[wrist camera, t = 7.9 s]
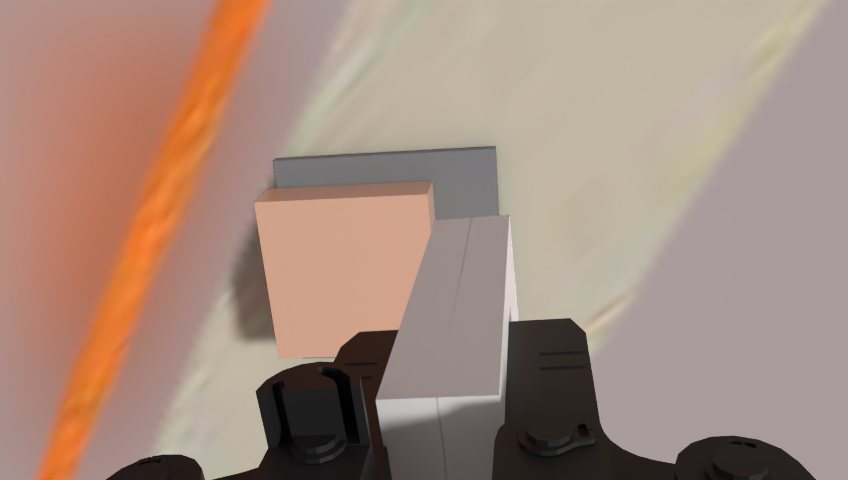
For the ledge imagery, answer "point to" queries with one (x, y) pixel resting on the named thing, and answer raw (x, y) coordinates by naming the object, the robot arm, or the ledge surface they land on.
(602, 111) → the ledge surface
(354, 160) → the mat
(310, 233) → the block
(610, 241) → the ledge surface
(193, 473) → the robot arm
